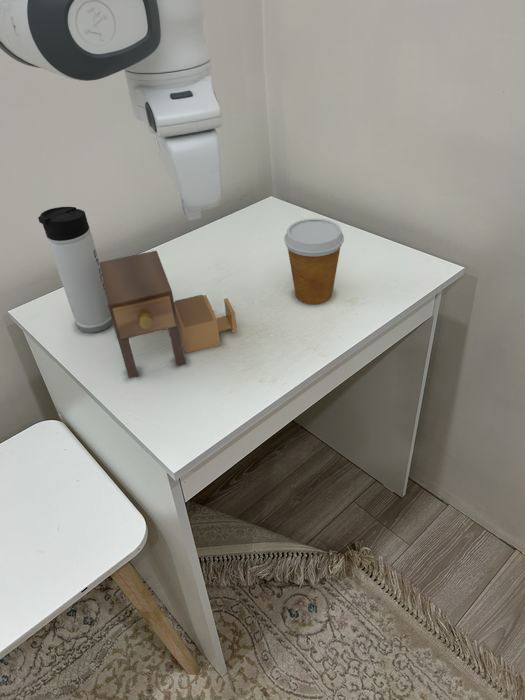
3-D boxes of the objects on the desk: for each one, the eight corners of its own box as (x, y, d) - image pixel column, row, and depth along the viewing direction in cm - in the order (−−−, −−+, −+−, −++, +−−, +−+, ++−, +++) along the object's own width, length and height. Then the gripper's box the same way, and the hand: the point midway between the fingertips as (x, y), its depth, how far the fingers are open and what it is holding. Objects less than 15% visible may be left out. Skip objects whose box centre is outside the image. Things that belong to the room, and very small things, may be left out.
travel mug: (67, 325, 90) (28, 213, 78) (100, 307, 94) (67, 197, 81) (90, 339, 87) (52, 224, 74) (123, 319, 91) (92, 207, 78)
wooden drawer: (185, 353, 83) (180, 327, 80) (176, 327, 88) (171, 301, 85) (239, 340, 85) (237, 313, 81) (227, 315, 90) (224, 289, 87)
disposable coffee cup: (351, 288, 94) (354, 224, 87) (324, 316, 88) (325, 250, 81) (304, 274, 99) (303, 212, 91) (275, 300, 93) (272, 236, 85)
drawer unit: (130, 386, 78) (109, 312, 70) (119, 332, 88) (99, 261, 80) (188, 371, 80) (174, 297, 71) (170, 320, 90) (156, 250, 82)
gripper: (130, 76, 65) (153, 188, 73) (158, 125, 49) (183, 259, 58) (182, 69, 66) (198, 179, 75) (225, 113, 50) (240, 246, 59)
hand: (192, 215), depth 66 cm, fingers closed
